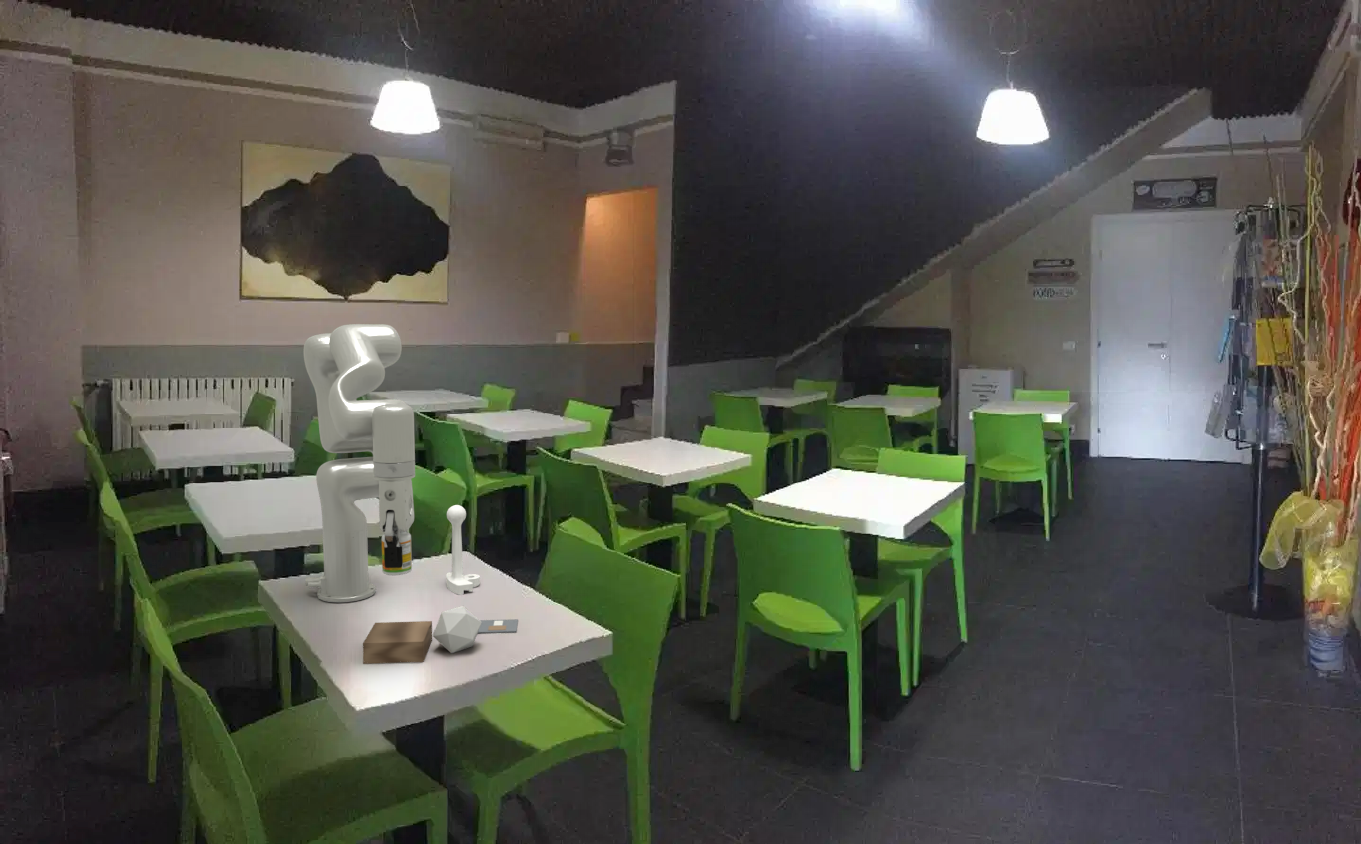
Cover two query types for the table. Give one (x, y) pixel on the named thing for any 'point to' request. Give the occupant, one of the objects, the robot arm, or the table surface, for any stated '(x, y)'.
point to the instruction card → (498, 626)
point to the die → (457, 629)
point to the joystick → (458, 555)
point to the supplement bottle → (405, 555)
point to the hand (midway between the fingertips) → (396, 561)
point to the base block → (397, 642)
